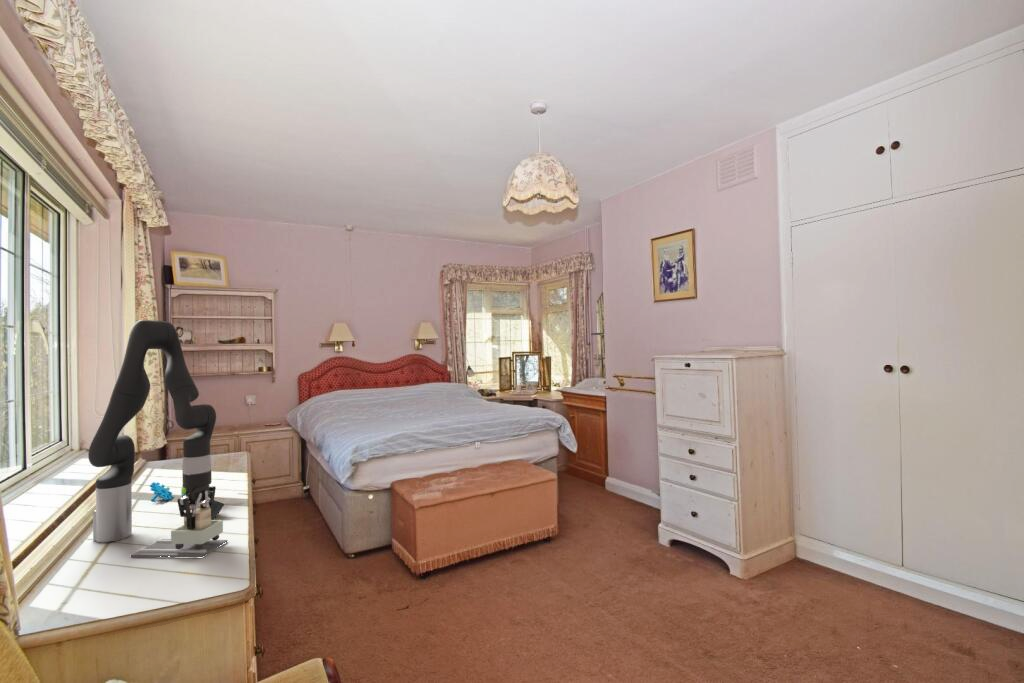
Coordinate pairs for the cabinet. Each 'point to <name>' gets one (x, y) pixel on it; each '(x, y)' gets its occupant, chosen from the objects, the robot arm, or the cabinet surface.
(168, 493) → the blue bumpy figure
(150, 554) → the track
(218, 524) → the mint green tray
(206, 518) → the block
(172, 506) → the cabinet surface
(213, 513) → the dark piece
